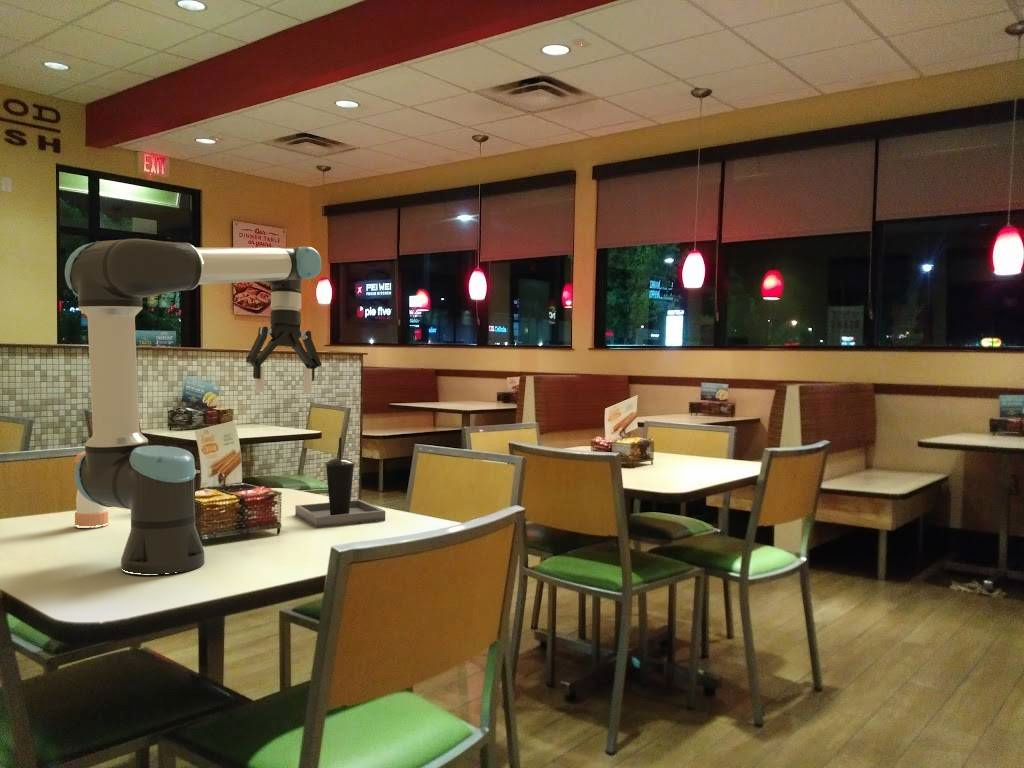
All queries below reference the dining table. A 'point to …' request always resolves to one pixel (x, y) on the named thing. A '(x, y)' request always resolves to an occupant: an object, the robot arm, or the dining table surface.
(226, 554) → the dining table surface
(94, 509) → the pepper shaker
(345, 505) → the drinking cup
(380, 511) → the serving tray
